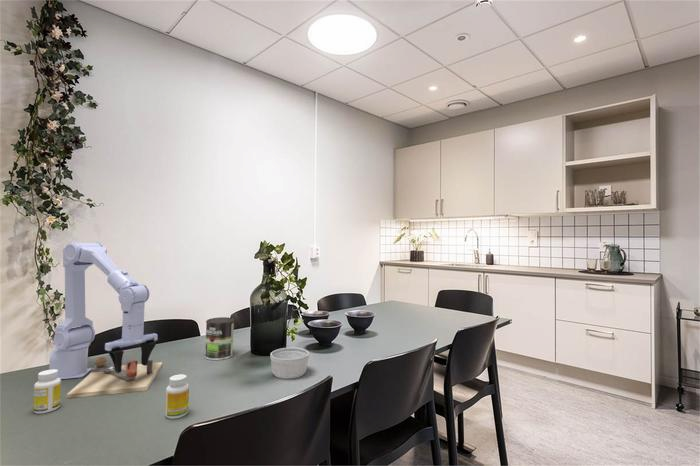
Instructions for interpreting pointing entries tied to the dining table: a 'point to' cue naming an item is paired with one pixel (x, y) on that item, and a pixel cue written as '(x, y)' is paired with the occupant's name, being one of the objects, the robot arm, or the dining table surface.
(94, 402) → the dining table surface
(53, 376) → the supplement bottle
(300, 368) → the ramekin
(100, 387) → the board
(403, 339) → the dining table surface
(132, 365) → the lever
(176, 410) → the supplement bottle
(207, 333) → the coffee can
